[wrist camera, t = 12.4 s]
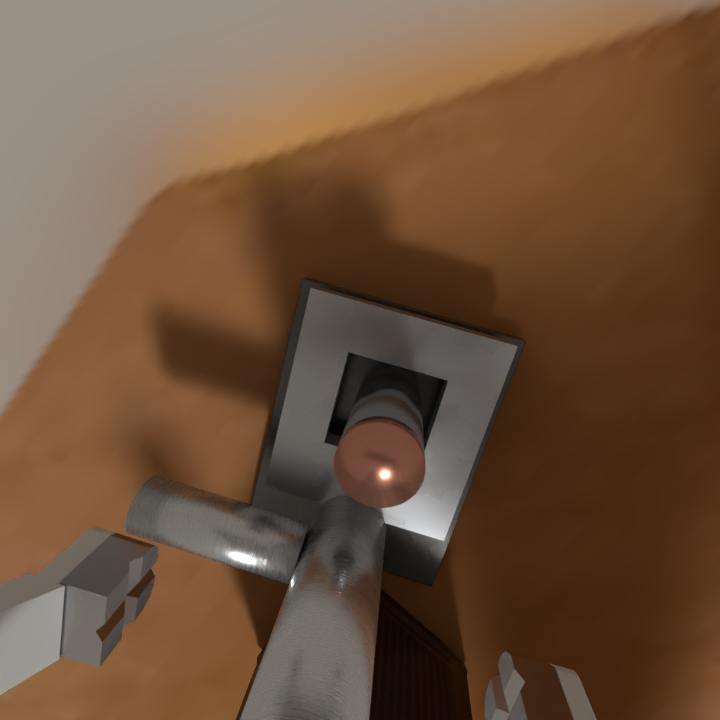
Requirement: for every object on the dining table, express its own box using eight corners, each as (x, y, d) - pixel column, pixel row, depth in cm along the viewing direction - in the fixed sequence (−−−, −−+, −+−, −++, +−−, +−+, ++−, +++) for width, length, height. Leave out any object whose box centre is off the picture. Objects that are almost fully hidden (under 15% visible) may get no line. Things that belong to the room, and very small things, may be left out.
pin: (428, 376, 23) (437, 439, 15) (410, 432, 24) (410, 518, 16) (367, 359, 23) (346, 413, 15) (352, 415, 24) (324, 493, 16)
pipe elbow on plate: (521, 338, 23) (711, 486, 8) (430, 576, 27) (453, 944, 13) (237, 258, 23) (-37, 267, 9) (192, 503, 28) (-41, 771, 13)
